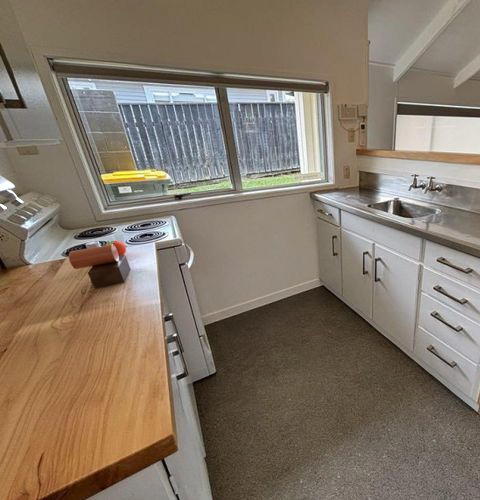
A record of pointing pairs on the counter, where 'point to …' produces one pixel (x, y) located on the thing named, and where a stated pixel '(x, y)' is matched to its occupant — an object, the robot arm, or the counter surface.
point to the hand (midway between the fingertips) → (12, 207)
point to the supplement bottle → (92, 244)
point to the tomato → (118, 247)
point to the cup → (93, 256)
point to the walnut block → (110, 273)
